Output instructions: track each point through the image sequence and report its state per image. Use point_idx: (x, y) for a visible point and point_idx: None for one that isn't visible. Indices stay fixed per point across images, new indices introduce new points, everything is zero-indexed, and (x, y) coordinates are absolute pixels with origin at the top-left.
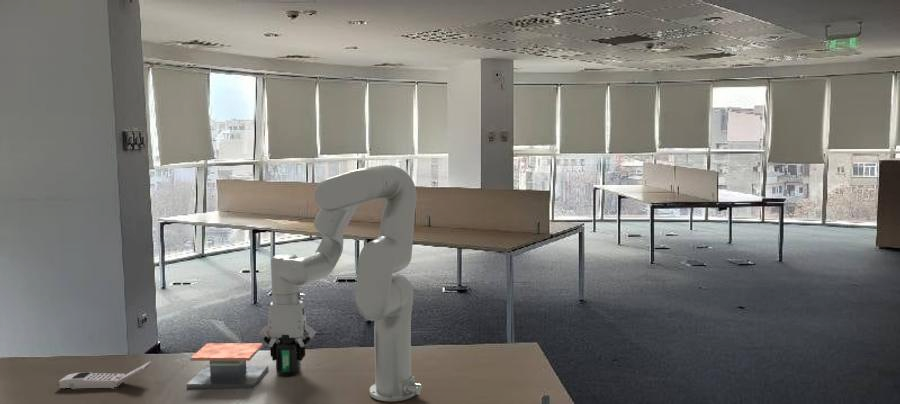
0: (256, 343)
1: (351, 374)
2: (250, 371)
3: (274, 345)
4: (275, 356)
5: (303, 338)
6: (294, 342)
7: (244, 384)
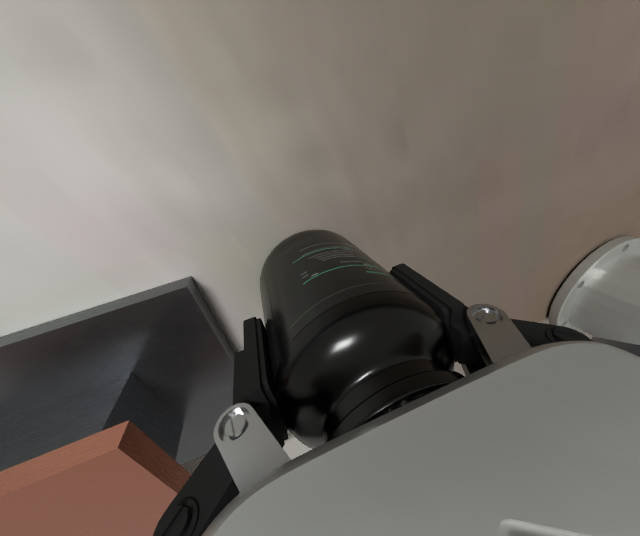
0: (52, 478)
1: (522, 212)
2: (163, 370)
3: (282, 434)
4: None
5: (515, 350)
6: None
7: None
